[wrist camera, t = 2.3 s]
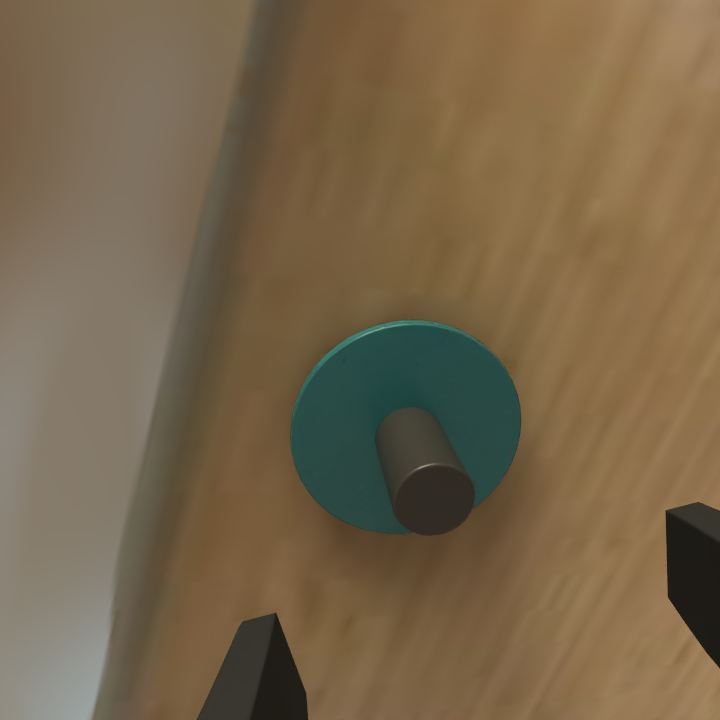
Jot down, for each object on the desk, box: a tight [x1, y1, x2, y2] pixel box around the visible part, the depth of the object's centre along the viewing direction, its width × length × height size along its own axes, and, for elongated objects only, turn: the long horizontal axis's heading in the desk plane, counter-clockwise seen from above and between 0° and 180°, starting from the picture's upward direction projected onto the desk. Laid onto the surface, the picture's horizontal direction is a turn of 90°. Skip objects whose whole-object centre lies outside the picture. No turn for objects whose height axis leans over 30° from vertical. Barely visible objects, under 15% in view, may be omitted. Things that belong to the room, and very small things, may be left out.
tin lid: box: [291, 320, 521, 536], centre depth 15 cm, size 8×8×5 cm
